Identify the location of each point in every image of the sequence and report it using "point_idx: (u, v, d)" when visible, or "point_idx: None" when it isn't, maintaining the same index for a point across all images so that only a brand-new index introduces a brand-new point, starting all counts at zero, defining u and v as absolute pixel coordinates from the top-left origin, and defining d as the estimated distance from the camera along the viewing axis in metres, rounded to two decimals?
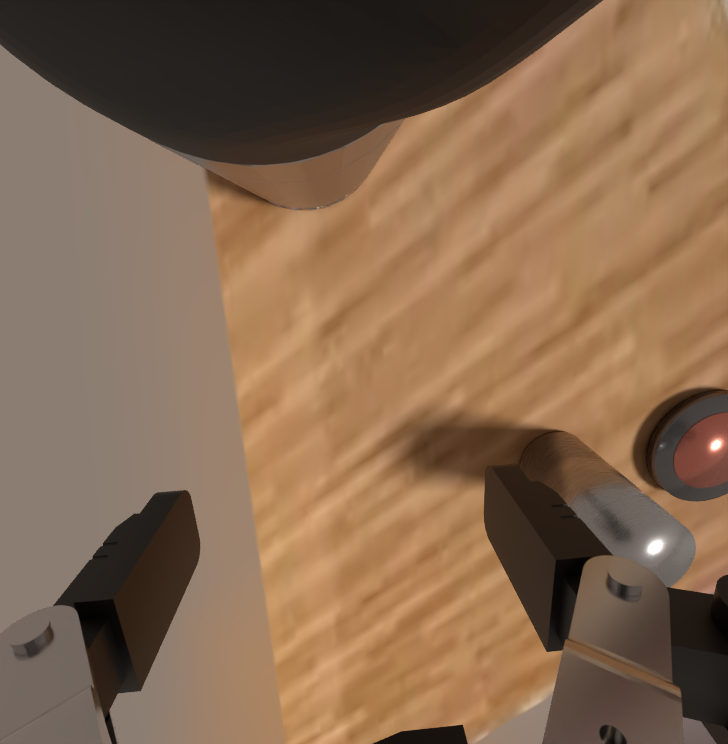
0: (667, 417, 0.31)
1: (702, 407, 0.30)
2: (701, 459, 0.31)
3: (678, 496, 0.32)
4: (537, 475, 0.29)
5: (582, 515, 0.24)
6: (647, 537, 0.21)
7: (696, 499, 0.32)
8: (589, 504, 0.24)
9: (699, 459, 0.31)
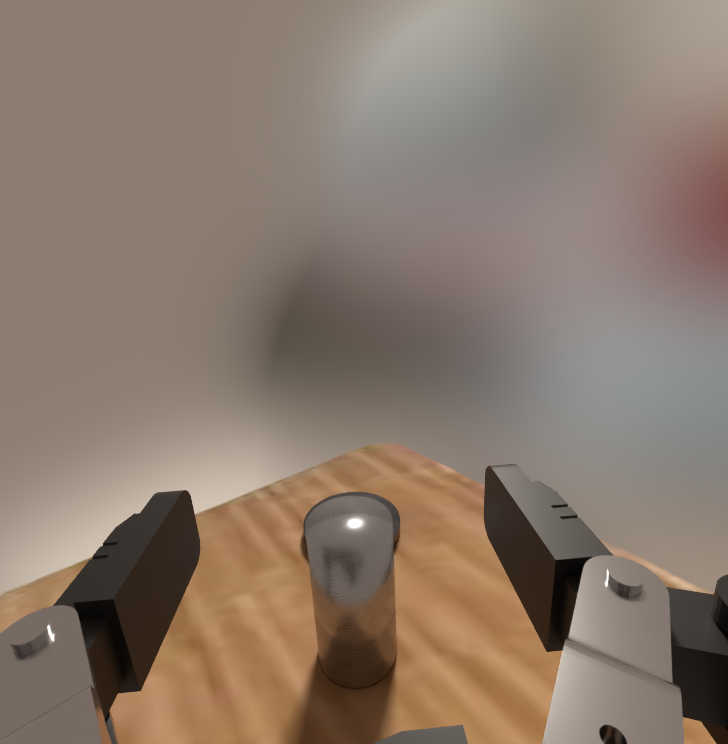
0: None
1: None
2: None
3: (394, 532, 0.37)
4: (343, 655, 0.24)
5: (329, 587, 0.23)
6: (322, 526, 0.24)
7: (397, 520, 0.38)
8: (319, 583, 0.23)
9: None
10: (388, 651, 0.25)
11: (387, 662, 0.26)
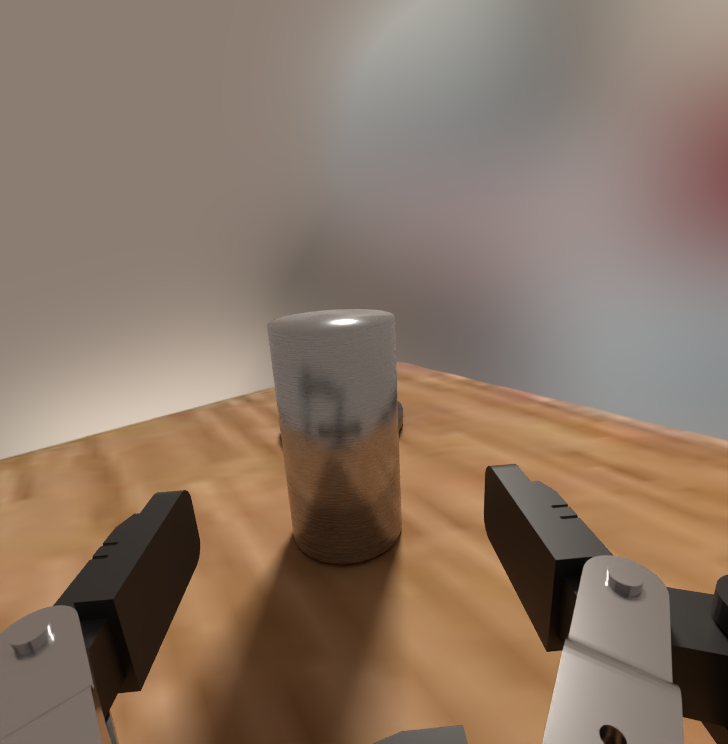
0: None
1: None
2: None
3: None
4: (325, 512, 0.17)
5: (301, 398, 0.15)
6: (292, 322, 0.17)
7: (400, 409, 0.31)
8: (287, 397, 0.16)
9: None
10: (390, 514, 0.18)
11: (388, 531, 0.18)
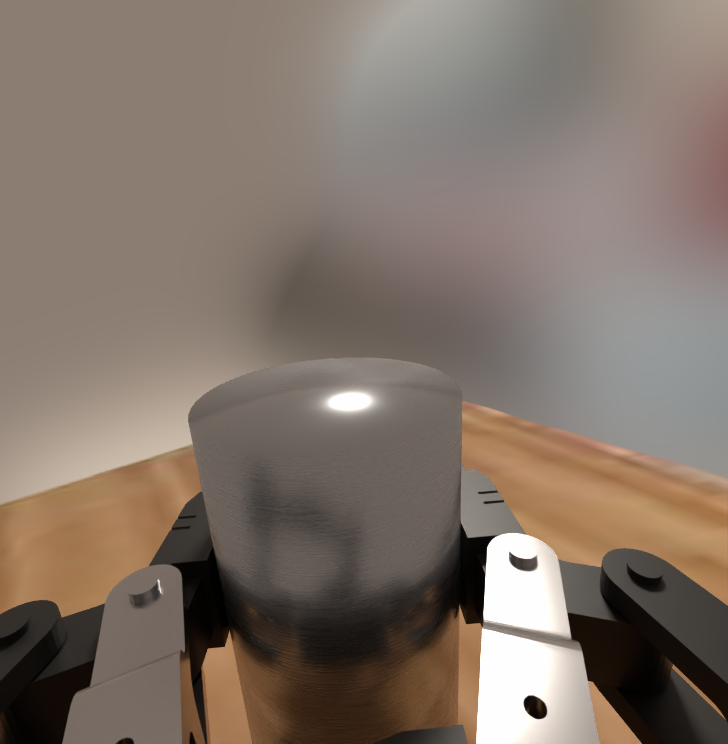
0: None
1: None
2: None
3: None
4: None
5: (258, 591, 0.07)
6: (245, 403, 0.08)
7: None
8: (229, 577, 0.07)
9: None
10: None
11: None
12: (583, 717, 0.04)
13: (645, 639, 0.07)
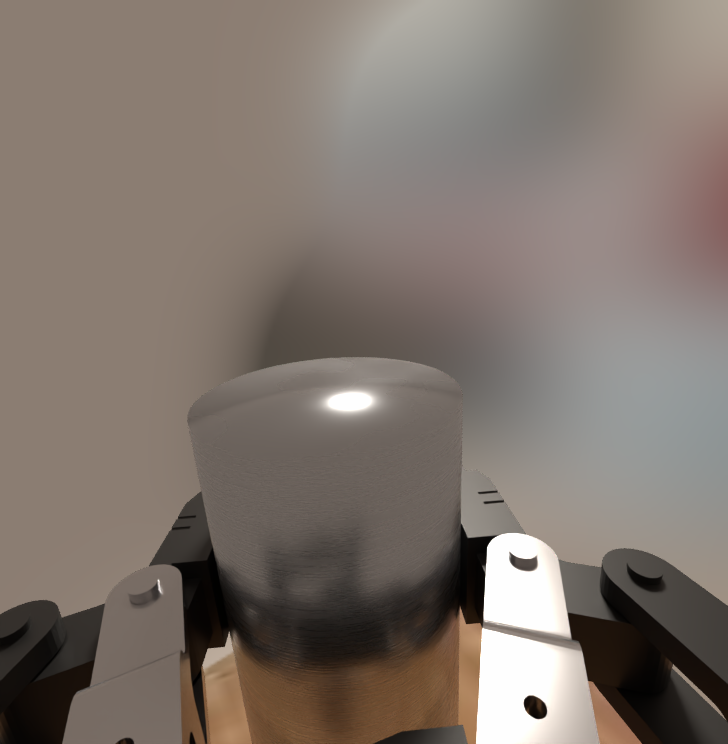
0: None
1: None
2: None
3: None
4: None
5: (257, 592, 0.07)
6: (244, 403, 0.08)
7: None
8: (229, 578, 0.07)
9: None
10: None
11: None
12: (583, 717, 0.04)
13: (645, 639, 0.07)
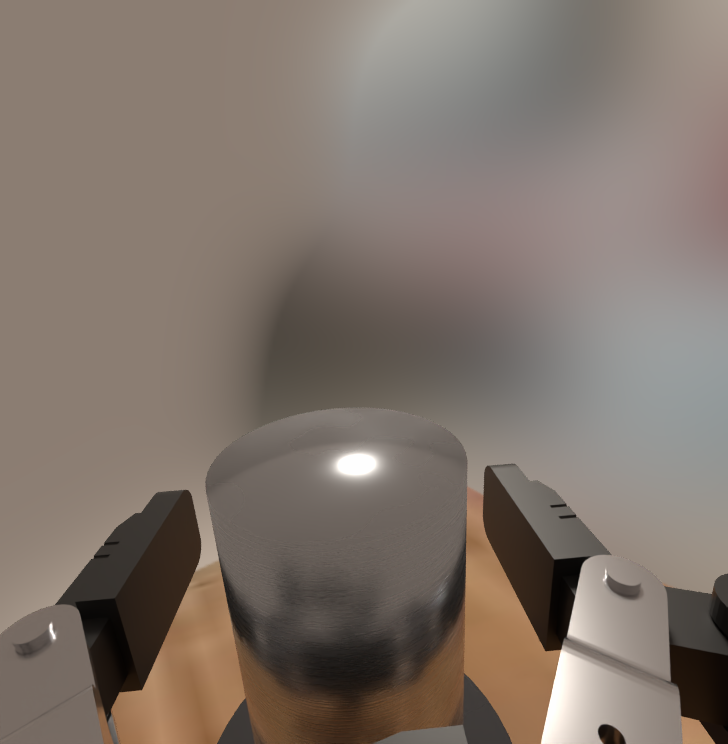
0: None
1: None
2: None
3: None
4: None
5: (273, 657, 0.07)
6: (258, 468, 0.08)
7: None
8: (245, 640, 0.07)
9: None
10: None
11: None
12: None
13: None
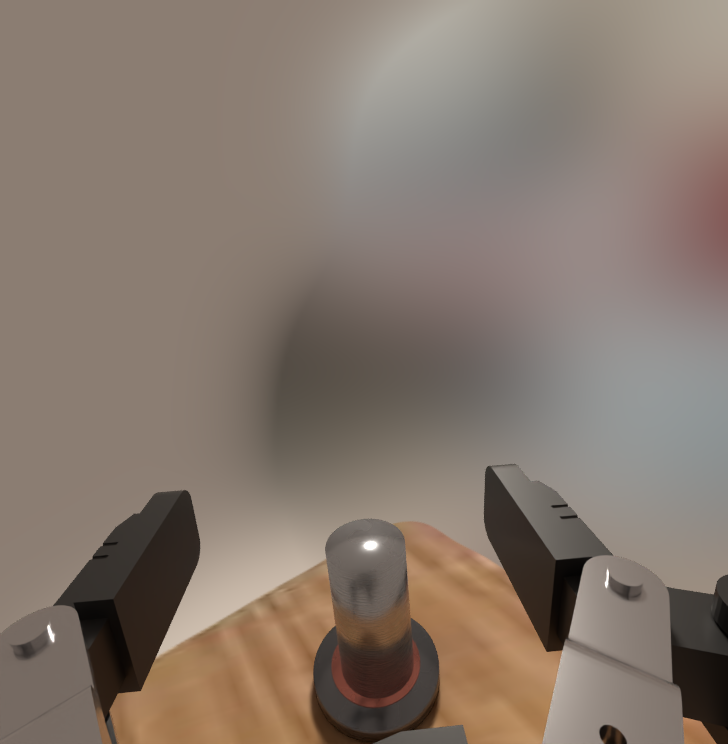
0: (338, 727, 0.27)
1: (322, 690, 0.28)
2: None
3: (433, 684, 0.28)
4: (365, 668, 0.26)
5: (350, 605, 0.25)
6: (340, 549, 0.27)
7: (436, 662, 0.29)
8: (340, 601, 0.26)
9: None
10: (406, 663, 0.27)
11: (405, 674, 0.28)
12: None
13: None
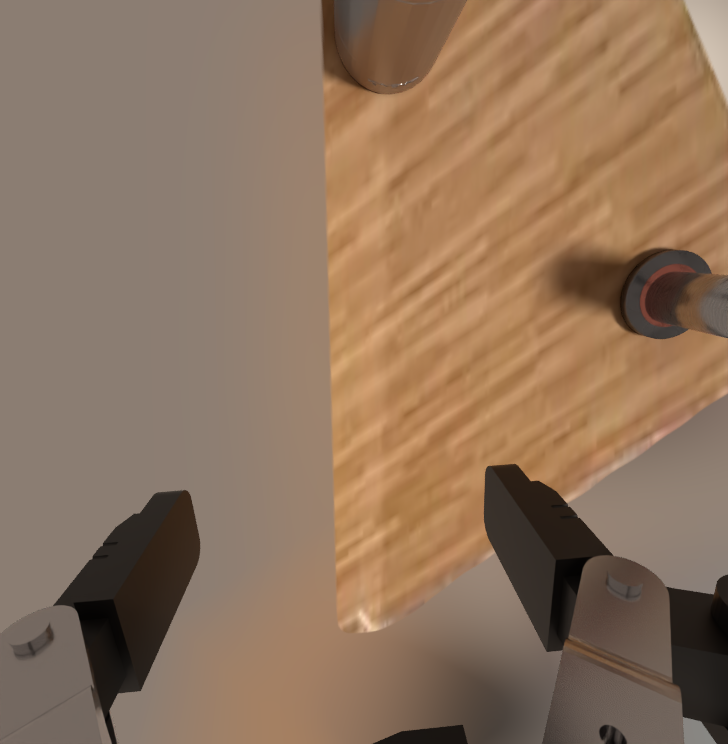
0: (635, 269, 0.42)
1: (660, 258, 0.41)
2: None
3: (644, 333, 0.43)
4: (666, 293, 0.39)
5: (714, 294, 0.35)
6: None
7: (657, 337, 0.43)
8: (720, 286, 0.34)
9: None
10: (662, 319, 0.41)
11: (655, 317, 0.42)
12: None
13: None
